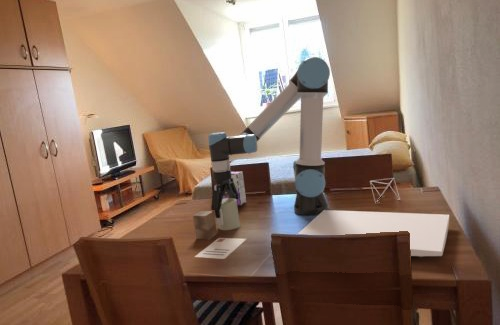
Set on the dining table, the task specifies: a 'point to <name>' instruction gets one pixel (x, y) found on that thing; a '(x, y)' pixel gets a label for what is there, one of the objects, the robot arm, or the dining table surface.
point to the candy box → (238, 187)
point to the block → (205, 225)
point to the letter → (220, 248)
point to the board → (386, 227)
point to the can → (229, 214)
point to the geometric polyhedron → (385, 188)
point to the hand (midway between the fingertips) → (227, 219)
